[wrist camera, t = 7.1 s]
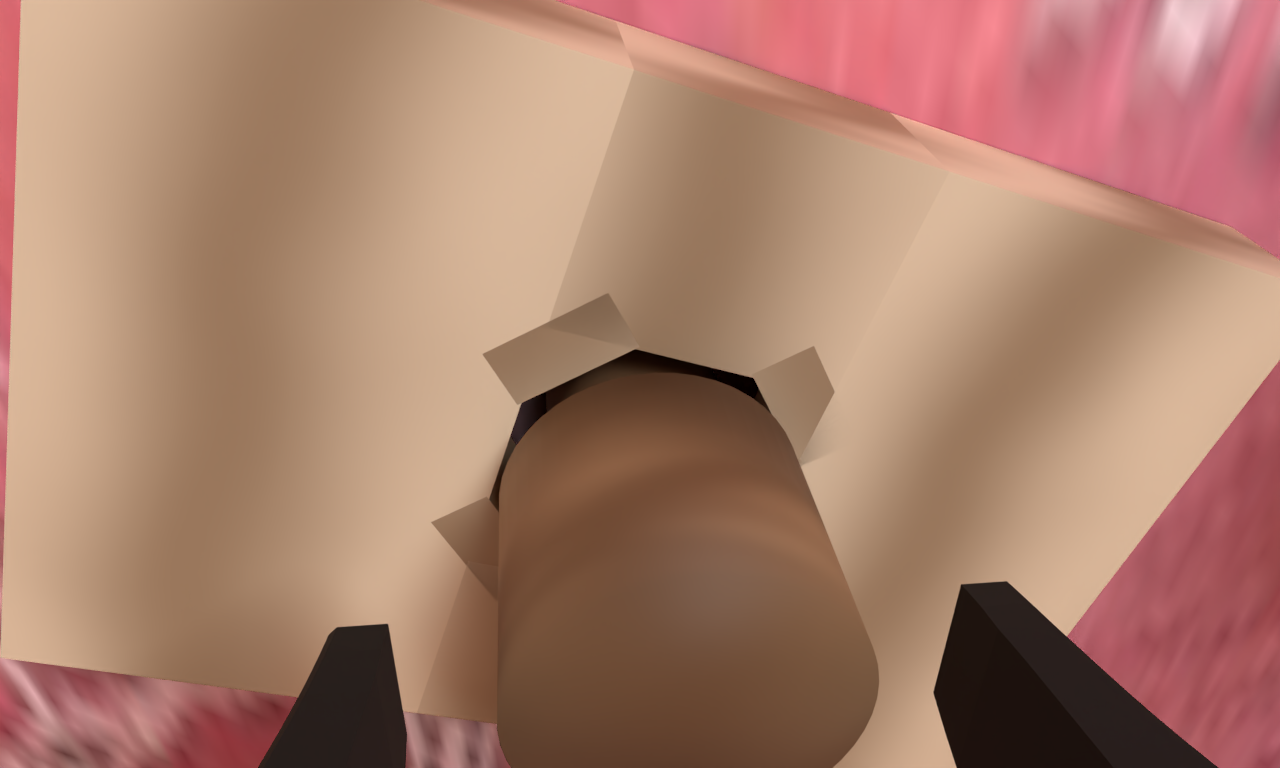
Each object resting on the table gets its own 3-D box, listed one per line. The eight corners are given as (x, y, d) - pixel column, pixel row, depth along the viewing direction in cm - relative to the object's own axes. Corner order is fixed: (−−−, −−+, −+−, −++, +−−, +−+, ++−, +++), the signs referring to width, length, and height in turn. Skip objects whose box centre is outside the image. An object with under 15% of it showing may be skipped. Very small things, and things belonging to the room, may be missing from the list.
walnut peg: (768, 271, 17) (907, 556, 11) (748, 486, 19) (852, 812, 14) (491, 281, 16) (483, 585, 11) (507, 500, 19) (508, 844, 13)
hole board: (1230, 227, 17) (1330, 293, 15) (912, 689, 23) (952, 784, 21) (105, -151, 13) (25, -127, 10) (57, 552, 18) (0, 657, 16)
